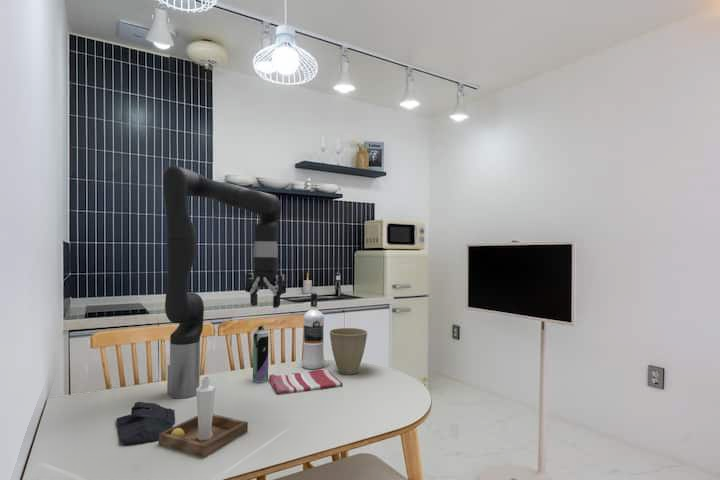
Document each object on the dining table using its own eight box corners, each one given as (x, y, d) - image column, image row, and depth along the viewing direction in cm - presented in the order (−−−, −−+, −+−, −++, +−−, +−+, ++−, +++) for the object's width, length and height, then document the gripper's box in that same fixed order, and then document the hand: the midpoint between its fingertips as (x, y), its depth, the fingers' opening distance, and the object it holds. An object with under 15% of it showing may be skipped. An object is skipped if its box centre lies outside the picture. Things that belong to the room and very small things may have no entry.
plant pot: (368, 377, 159) (369, 335, 159) (329, 378, 158) (329, 335, 158) (365, 366, 174) (365, 327, 174) (329, 366, 173) (329, 327, 173)
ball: (167, 442, 104) (167, 429, 104) (177, 437, 107) (178, 424, 107) (176, 445, 102) (177, 432, 103) (187, 440, 105) (187, 427, 105)
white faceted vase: (198, 433, 109) (199, 375, 110) (215, 432, 110) (216, 375, 110) (192, 441, 105) (193, 380, 105) (210, 440, 105) (211, 380, 105)
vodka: (322, 362, 178) (323, 291, 178) (326, 369, 169) (326, 294, 169) (300, 364, 176) (301, 292, 176) (303, 370, 167) (303, 294, 167)
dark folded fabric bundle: (109, 454, 100) (109, 434, 100) (117, 419, 120) (117, 402, 120) (179, 441, 107) (179, 423, 107) (175, 410, 127) (175, 395, 127)
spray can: (264, 383, 151) (264, 327, 151) (250, 382, 152) (250, 327, 152) (270, 378, 156) (271, 324, 156) (256, 377, 157) (257, 324, 157)
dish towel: (267, 381, 155) (268, 374, 155) (328, 374, 164) (328, 367, 164) (276, 396, 139) (276, 388, 139) (343, 388, 148) (343, 380, 148)
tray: (158, 446, 103) (158, 433, 103) (204, 423, 117) (204, 412, 117) (204, 460, 97) (204, 446, 97) (247, 433, 110) (247, 422, 110)
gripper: (240, 255, 134) (239, 306, 133) (277, 256, 128) (276, 309, 127) (255, 255, 140) (254, 303, 140) (291, 255, 135) (290, 306, 134)
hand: (265, 306), depth 134 cm, fingers open, 8 cm apart
